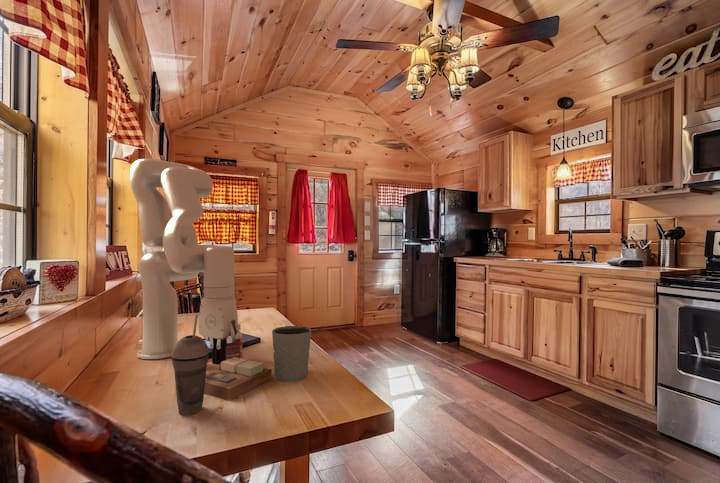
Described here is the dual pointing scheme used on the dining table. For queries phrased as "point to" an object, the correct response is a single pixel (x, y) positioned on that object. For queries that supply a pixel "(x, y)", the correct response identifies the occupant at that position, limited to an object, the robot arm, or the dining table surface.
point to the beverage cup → (190, 372)
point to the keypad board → (232, 382)
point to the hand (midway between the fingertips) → (219, 362)
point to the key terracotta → (213, 365)
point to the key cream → (232, 364)
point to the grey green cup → (291, 352)
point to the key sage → (249, 368)
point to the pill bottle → (235, 346)
